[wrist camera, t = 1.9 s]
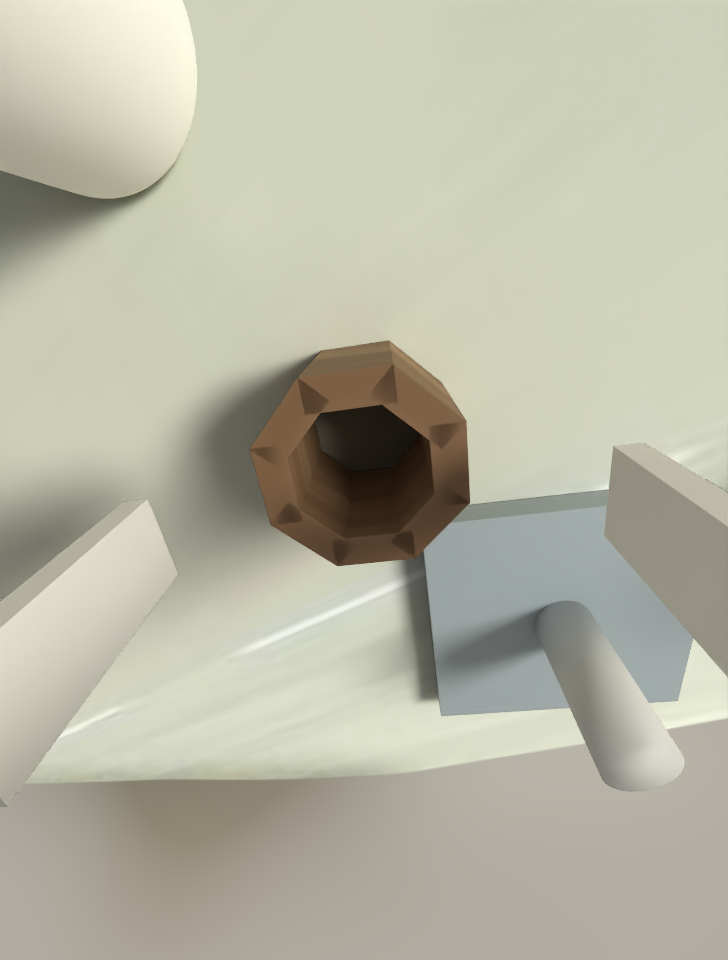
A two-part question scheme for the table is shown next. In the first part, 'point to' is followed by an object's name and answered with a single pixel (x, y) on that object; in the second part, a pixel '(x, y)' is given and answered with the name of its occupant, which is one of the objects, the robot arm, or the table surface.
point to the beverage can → (95, 92)
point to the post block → (556, 630)
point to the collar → (367, 494)
